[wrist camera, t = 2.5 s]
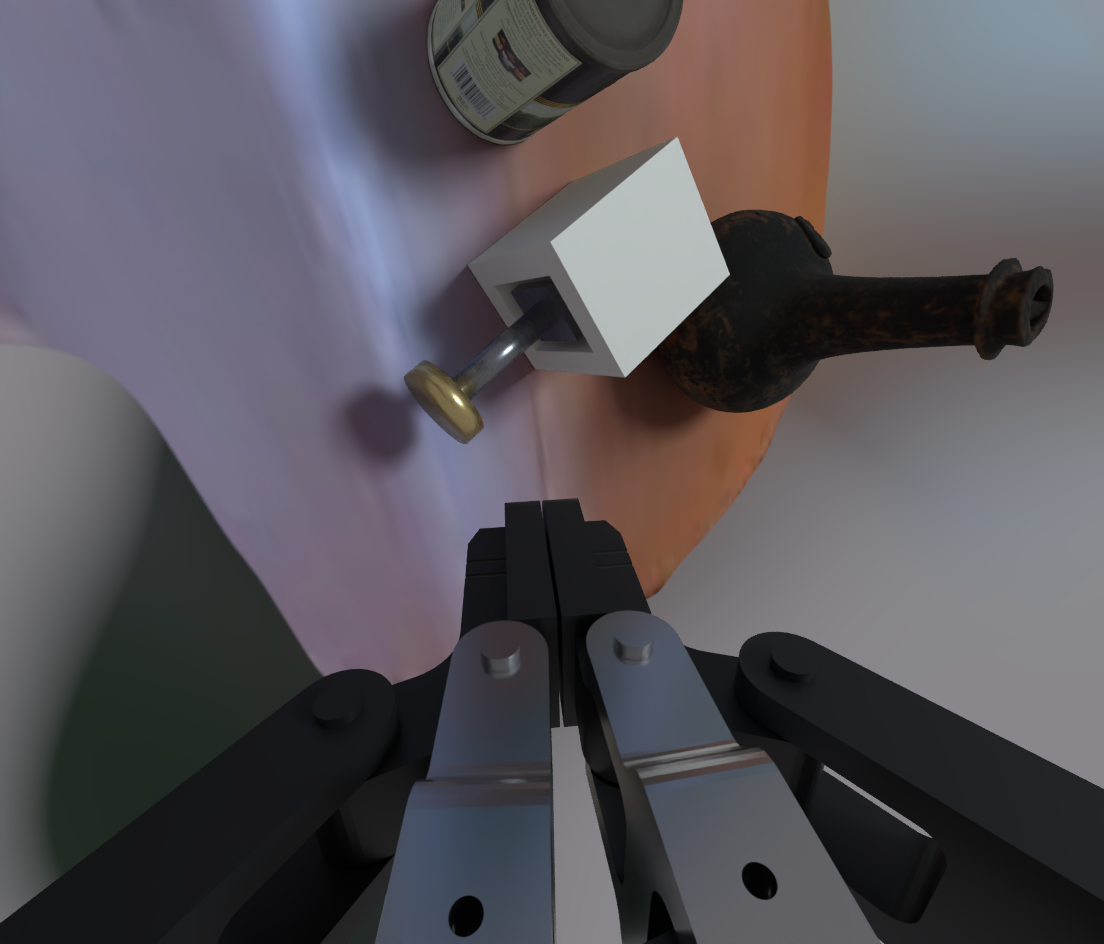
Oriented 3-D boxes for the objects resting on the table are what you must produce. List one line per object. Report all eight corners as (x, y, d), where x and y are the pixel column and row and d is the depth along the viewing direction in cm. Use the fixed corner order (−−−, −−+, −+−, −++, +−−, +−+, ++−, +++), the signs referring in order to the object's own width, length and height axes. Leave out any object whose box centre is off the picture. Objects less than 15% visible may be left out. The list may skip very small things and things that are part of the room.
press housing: (535, 369, 46) (625, 377, 36) (467, 265, 41) (550, 241, 31) (625, 287, 50) (729, 274, 40) (572, 181, 45) (677, 136, 35)
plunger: (446, 436, 40) (480, 450, 35) (393, 372, 37) (422, 377, 32) (551, 341, 43) (596, 342, 38) (510, 275, 40) (553, 266, 35)
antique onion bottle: (771, 281, 60) (1124, 246, 37) (712, 430, 60) (1030, 488, 37) (669, 183, 50) (1068, 50, 27) (597, 361, 50) (938, 381, 27)
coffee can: (567, 37, 42) (707, -78, 30) (533, 170, 43) (657, 107, 31) (446, -60, 36) (561, -248, 24) (409, 96, 37) (504, -15, 25)
